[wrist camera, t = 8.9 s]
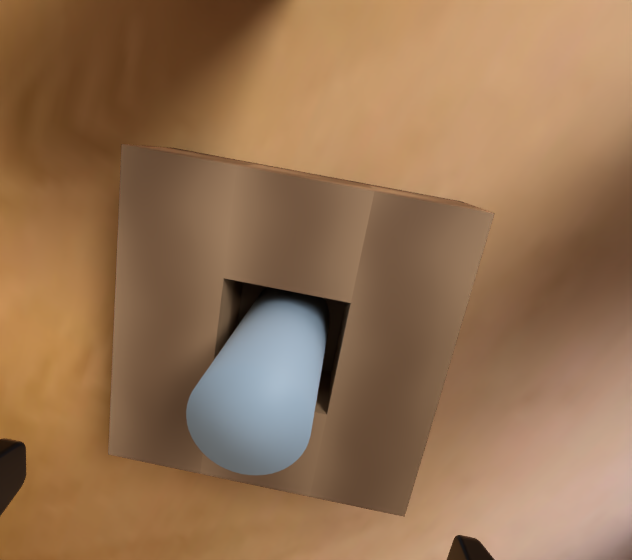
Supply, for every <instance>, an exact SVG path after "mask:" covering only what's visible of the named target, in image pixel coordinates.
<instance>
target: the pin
mask: <svg viewBox="0 0 632 560" xmlns="http://www.w3.org/2000/svg"><path fill="white" fill-rule="evenodd" d="M329 322H330V314H329V309H328V306H327V304H326V302H325V300H324V299H323V298H322V297H317V296H312V295H307V294H302V293H297V292H292V291H286V290H281V289H276V288H271V287H267V288H266V289H264V290H263V291H262V292H261V294H260V295H259V296H258V298H257V299H256V301H255V302H254V303H253V305H252V306H251V308H250V309H249V311H248V312H247V313H246V315H245V316H244V318H243V319H242V321H241V322H240V324H239V325H238V326H237V328H236V329H235V331H234V332H233V334H232V335H231V336H230V338H229V339H228V341H227V342H226V344H225V345H224V346H223V348H222V349H221V351H220V352H219V354H218V355H217V356H216V358H215V359H214V361H213V362H212V364H211V365H210V366H209V368H208V369H207V371H206V372H205V374H204V375H203V376H202V378H201V379H200V381H199V382H198V384H197V385H196V386H195V388H194V389H193V391H192V393H191V395H190V397H189V400H188V403H187V409H186V419H187V425H188V429H189V432H190V434H191V437H192V439H193V440H194V442H195V444H196V445H197V446H198V448H199V449H200V450H201V451H202V452H203V453H204V454H205V456H207V457H208V458H209V459H210V460H211V461H213V462H214V463H216V464H217V465H219V466H221V467H223V468H225V469H227V470H230V471H232V472H236V473H240V474H245V475H267V474H272V473H275V472H278V471H281V470H283V469H285V468H287V467H289V466H290V465H292V464H293V463H294V462H295V461H297V460H298V459H299V457H300V456H301V455H302V454H303V452H304V451H305V449H306V447H307V445H308V443H309V439H310V436H311V430H312V424H313V418H314V412H315V406H316V400H317V394H318V388H319V382H320V377H321V371H322V365H323V359H324V353H325V347H326V341H327V335H328V329H329Z"/></svg>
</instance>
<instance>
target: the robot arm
mask: <svg viewBox="0 0 632 560" xmlns="http://www.w3.org/2000/svg"><path fill="white" fill-rule="evenodd" d="M25 477H26V447H25V445H24V443H22V442H20V441H16V440H11V439H0V516H1V514H2V513H3V511H4V510H5V509H6V507H7V506H8V505H9V503H10V502H11V500H12V499H13V498H14V496H15V495H16V494H17V492H18V491H19V489H20V488H21V486H22V485H23V483H24V480H25ZM447 560H494V558H493V557H492V556H491V555H490V553H489V552H488V551H487V550H486V548H485V547H484V546H483V545H482V544H481V542H480V541H479V540H477V539H475V538H472V537H467V536H462V535H457V536H456V537H455V538H454V540H453V543H452V546H451V549H450V552H449V555H448V558H447Z"/></svg>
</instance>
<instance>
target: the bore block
mask: <svg viewBox="0 0 632 560" xmlns="http://www.w3.org/2000/svg"><path fill="white" fill-rule="evenodd" d="M493 217H494V213H492V212H489V211H486V210H483V209H481V208H478V207H475V206H472V205H469V204H467V203H464V202H461V201H455V200H450V199H445V198H439V197H434V196H429V195H423V194H418V193H412V192H407V191H402V190H396V189H391V188H386V187H380V186H375V185H369V184H364V183H359V182H353V181H348V180H342V179H337V178H332V177H326V176H321V175H316V174H310V173H305V172H299V171H294V170H289V169H283V168H278V167H273V166H267V165H262V164H256V163H251V162H246V161H240V160H235V159H230V158H224V157H219V156H213V155H208V154H203V153H197V152H192V151H186V150H181V149H176V148H165V147H153V146H140V145H128V144H122V148H121V171H120V194H119V217H118V240H117V264H116V287H115V310H114V333H113V356H112V379H111V403H110V426H109V449H108V454H109V455H114V456H118V457H123V458H128V459H133V460H137V461H142V462H147V463H152V464H156V465H161V466H166V467H171V468H175V469H180V470H185V471H190V472H195V473H199V474H204V475H209V476H214V477H218V478H223V479H228V480H233V481H237V482H242V483H247V484H252V485H256V486H261V487H266V488H271V489H275V490H280V491H285V492H290V493H294V494H299V495H304V496H309V497H313V498H318V499H323V500H328V501H332V502H337V503H342V504H347V505H352V506H356V507H361V508H366V509H371V510H375V511H380V512H385V513H390V514H394V515H399V516H404V517H405V513H406V510H407V507H408V503H409V500H410V496H411V493H412V490H413V486H414V483H415V480H416V476H417V473H418V470H419V466H420V463H421V459H422V456H423V453H424V449H425V446H426V443H427V439H428V436H429V432H430V429H431V426H432V422H433V419H434V416H435V412H436V409H437V405H438V402H439V399H440V395H441V392H442V389H443V385H444V382H445V378H446V375H447V372H448V368H449V365H450V362H451V358H452V355H453V351H454V348H455V345H456V341H457V338H458V335H459V331H460V328H461V325H462V321H463V318H464V314H465V311H466V308H467V304H468V301H469V298H470V294H471V291H472V287H473V284H474V281H475V277H476V274H477V271H478V267H479V264H480V260H481V257H482V254H483V250H484V247H485V244H486V240H487V237H488V233H489V230H490V227H491V223H492V220H493ZM267 287H271V288H276V289H281V290H286V291H292V292H297V293H302V294H307V295H312V296H317V297H322V298H323V299H324V300H325V302H326V304H327V306H328V309H329V314H330V322H329V329H328V335H327V341H326V347H325V353H324V359H323V365H322V371H321V377H320V382H319V388H318V394H317V400H316V406H315V412H314V418H313V424H312V430H311V436H310V439H309V443H308V445H307V447H306V449H305V451H304V452H303V454H302V455H301V456H300V457H299V459H298V460H297V461H295V462H294V463H293V464H292V465H290V466H289V467H287V468H285V469H283V470H281V471H278V472H275V473H272V474H267V475H245V474H240V473H236V472H232V471H230V470H227V469H225V468H223V467H221V466H219V465H217V464H216V463H214V462H213V461H211V460H210V459H209V458H208V457H207V456H205V454H204V453H203V452H202V451H201V450H200V449H199V448H198V446H197V445H196V444H195V442H194V440H193V439H192V437H191V434H190V432H189V429H188V425H187V419H186V409H187V403H188V400H189V397H190V395H191V393H192V391H193V389H194V388H195V386H196V385H197V384H198V382H199V381H200V379H201V378H202V376H203V375H204V374H205V372H206V371H207V369H208V368H209V366H210V365H211V364H212V362H213V361H214V359H215V358H216V356H217V355H218V354H219V352H220V351H221V349H222V348H223V346H224V345H225V344H226V342H227V341H228V339H229V338H230V336H231V335H232V334H233V332H234V331H235V329H236V328H237V326H238V325H239V324H240V322H241V321H242V319H243V318H244V316H245V315H246V313H247V312H248V311H249V309H250V308H251V306H252V305H253V303H254V302H255V301H256V299H257V298H258V296H259V295H260V294H261V292H262V291H263V290H264V289H266V288H267Z"/></svg>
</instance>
